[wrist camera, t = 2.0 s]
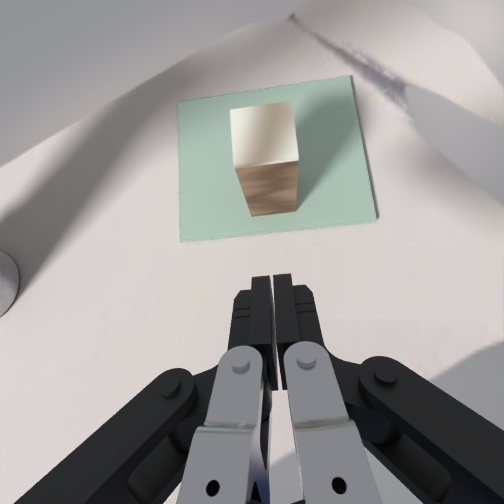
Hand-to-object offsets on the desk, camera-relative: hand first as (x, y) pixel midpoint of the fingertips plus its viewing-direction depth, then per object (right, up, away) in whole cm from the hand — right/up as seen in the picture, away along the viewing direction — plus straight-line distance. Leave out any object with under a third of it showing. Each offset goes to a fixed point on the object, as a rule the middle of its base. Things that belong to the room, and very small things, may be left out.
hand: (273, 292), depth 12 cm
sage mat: (+1, +13, +24) cm, 27 cm away
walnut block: (+1, +8, +22) cm, 23 cm away
